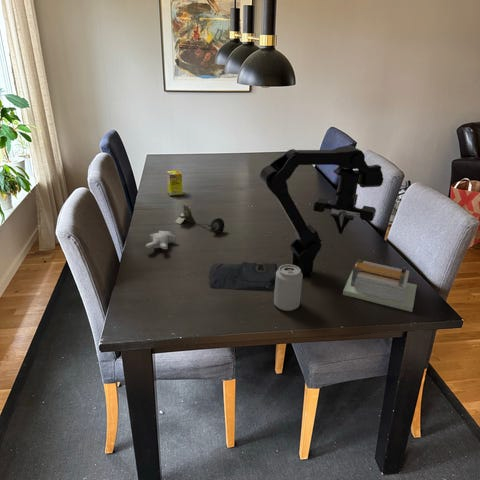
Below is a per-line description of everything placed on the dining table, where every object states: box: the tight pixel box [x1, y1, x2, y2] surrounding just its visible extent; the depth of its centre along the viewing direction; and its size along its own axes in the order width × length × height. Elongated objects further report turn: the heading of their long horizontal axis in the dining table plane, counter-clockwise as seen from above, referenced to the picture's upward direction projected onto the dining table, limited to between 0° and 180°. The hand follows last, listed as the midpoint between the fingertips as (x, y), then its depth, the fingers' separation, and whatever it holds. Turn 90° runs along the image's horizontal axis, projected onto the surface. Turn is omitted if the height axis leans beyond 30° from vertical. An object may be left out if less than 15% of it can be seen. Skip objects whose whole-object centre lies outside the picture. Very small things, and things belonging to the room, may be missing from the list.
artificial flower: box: [174, 204, 226, 235], centre depth 172 cm, size 9×22×10 cm, turn 48°
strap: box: [354, 261, 405, 279], centre depth 130 cm, size 15×4×1 cm, turn 65°
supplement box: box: [166, 170, 183, 198], centre depth 205 cm, size 6×6×11 cm
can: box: [273, 264, 303, 312], centre depth 122 cm, size 8×8×12 cm
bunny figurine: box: [145, 230, 177, 250], centre depth 155 cm, size 10×5×15 cm
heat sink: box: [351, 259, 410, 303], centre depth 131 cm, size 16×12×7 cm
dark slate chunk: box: [208, 261, 278, 292], centre depth 137 cm, size 15×22×5 cm
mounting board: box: [342, 269, 418, 313], centre depth 132 cm, size 20×14×2 cm
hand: (340, 233), depth 140 cm, fingers closed
